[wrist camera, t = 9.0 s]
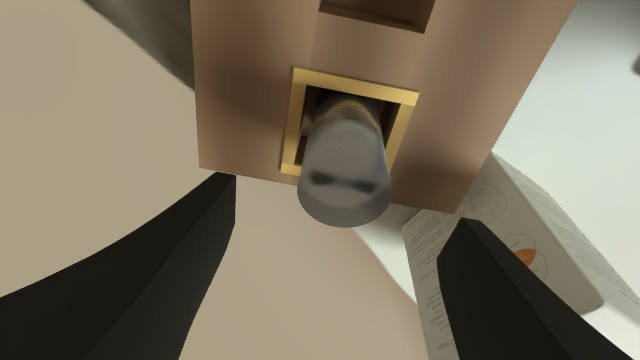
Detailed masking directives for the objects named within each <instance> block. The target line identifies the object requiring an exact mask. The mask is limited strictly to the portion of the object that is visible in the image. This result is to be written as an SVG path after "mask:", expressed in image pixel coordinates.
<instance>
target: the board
mask: <svg viewBox="0 0 640 360" xmlns="http://www.w3.org/2000/svg"><path fill="white" fill-rule="evenodd" d="M577 1H578V0H190V9H191V27H192V45H193V63H194V81H195V99H196V117H197V135H198V153H199V168H203V169H209V170H214V171H220V172H225V173H231V174H236V175H242V176H247V177H253V178H258V179H264V180H269V181H274V182H280V183H285V184H291V185H297V186H298V181H299V177H300V172H301V167H302V163H303V158H304V153H305V149H306V144H307V139H308V135H309V130H310V125H311V121H312V116H313V111H314V107H315V102H316V97H317V94H318V91H319V89H320V87H321V88H326V89H331V90H336V91H341V92H346V93H351V94H356V95H361V96H366V97H371V98H375V100H376V105H377V111H378V116H379V121H380V127H381V132H382V137H383V142H384V148H385V153H386V158H387V164H388V169H389V174H390V179H391V185H392V196H391V200H390V202H389V203H394V204H400V205H405V206H411V207H416V208H422V209H427V210H433V211H438V212H443V213H449V214H455V212H456V210H457V208H458V207H459V205H460V203H461V201H462V200H463V198H464V196H465V195H466V193H467V191H468V189H469V188H470V186H471V184H472V182H473V181H474V179H475V177H476V176H477V174H478V172H479V170H480V169H481V167H482V165H483V163H484V162H485V160H486V158H487V157H488V155H489V153H490V151H491V150H492V148H493V146H494V144H495V143H496V141H497V139H498V137H499V136H500V134H501V132H502V131H503V129H504V127H505V125H506V124H507V122H508V120H509V118H510V117H511V115H512V113H513V112H514V110H515V108H516V106H517V105H518V103H519V101H520V99H521V98H522V96H523V94H524V92H525V91H526V89H527V87H528V86H529V84H530V82H531V80H532V79H533V77H534V75H535V73H536V72H537V70H538V68H539V67H540V65H541V63H542V61H543V60H544V58H545V56H546V54H547V53H548V51H549V49H550V48H551V46H552V44H553V42H554V41H555V39H556V37H557V35H558V34H559V32H560V30H561V28H562V27H563V25H564V23H565V22H566V20H567V18H568V16H569V15H570V13H571V11H572V9H573V8H574V6H575V4H576V3H577Z"/></svg>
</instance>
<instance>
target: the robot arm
mask: <svg viewBox="0 0 640 360" xmlns="http://www.w3.org/2000/svg"><path fill="white" fill-rule="evenodd" d="M235 202H236V175H232V174H227V173H221V172H215V173H214V174H212V175H211V176H210V177H208V178H207V179H206V180H205V181H203V182H202V183H201V184H200V185H198V186H197V187H196V188H194V189H193V190H192V191H190V192H189V193H188V194H187V195H185V196H184V197H183V198H181V199H180V200H178V201H177V202H176V203H174V204H173V205H172V206H170V207H169V208H167V209H166V210H165V211H163V212H162V213H161V214H159V215H157V216H156V217H154V218H153V219H151V220H150V221H148V222H147V223H145V224H144V225H142V226H141V227H139V228H138V229H136V230H135V231H133V232H131V233H130V234H128V235H126V236H125V237H123V238H121V239H120V240H118V241H116V242H115V243H113V244H111V245H109V246H107V247H106V248H104V249H102V250H100V251H98V252H97V253H95V254H93V255H91V256H89V257H88V258H85V259H83V260H81V261H79V262H77V263H75V264H73V265H71V266H69V267H67V268H65V269H63V270H61V271H59V272H56V273H54V274H52V275H50V276H48V277H46V278H44V279H42V280H40V281H37V282H36V283H33V284H31V285H28V286H26V287H24V288H21V289H19V290H17V291H15V292H12V293H10V294H8V295H5V296H3V297H0V360H178V359H179V356H180V354H181V351H182V348H183V346H184V343H185V340H186V337H187V335H188V332H189V329H190V327H191V325H192V322H193V320H194V318H195V315H196V313H197V311H198V309H199V307H200V305H201V303H202V301H203V298H204V296H205V294H206V292H207V290H208V288H209V286H210V284H211V282H212V279H213V277H214V275H215V273H216V271H217V269H218V266H219V264H220V262H221V260H222V258H223V256H224V254H225V251H226V249H227V246H228V243H229V240H230V237H231V234H232V231H233V228H234V224H235ZM436 261H437V270H438V278H439V285H440V290H441V294H442V298H443V302H444V306H445V309H446V313H447V317H448V320H449V324H450V328H451V331H452V335H453V338H454V342H455V346H456V349H457V353H458V356H459V360H634V359H633V358H631V357H630V356H629V355H627V354H626V353H625V352H623V351H622V350H621V349H620V348H618V347H617V346H616V345H615V344H613V343H612V342H611V341H610V340H608V339H607V338H606V337H605V336H604V335H602V334H601V333H600V332H599V331H598V330H596V329H595V328H594V327H593V326H591V325H590V324H589V323H588V322H587V321H585V320H584V319H583V318H582V317H581V316H580V315H579V314H577V313H576V312H575V311H574V310H573V309H572V308H571V307H570V306H568V305H567V304H566V303H565V302H564V301H563V300H562V299H561V298H560V297H559V296H558V295H556V294H555V293H554V292H553V291H552V290H551V289H550V288H549V287H548V286H547V285H546V284H545V283H544V282H543V281H542V280H541V279H539V278H538V277H537V276H536V275H535V274H534V273H533V272H532V271H531V270H530V269H529V268H528V267H527V266H526V265H525V264H524V263H523V262H522V261H521V260H520V259H519V258H518V257H517V256H516V255H515V254H514V253H513V252H512V251H511V250H510V249H509V248H508V247H507V246H506V245H505V244H504V243H503V242H502V241H501V240H500V239H499V238H498V237H497V236H496V235H495V234H494V233H493V232H492V231H491V230H490V229H489V228H488V227H487V226H486V225H485V224H484V223H482V222H481V221H480V220H475V219H470V218H465V217H461V218H460V220H459V222H458V223H457V225H456V227H455V228H454V230H453V232H452V233H451V235H450V237H449V238H448V240H447V242H446V243H445V245H444V247H443V248H442V250H441V252H440V253H439V255H438V257H437V258H436Z"/></svg>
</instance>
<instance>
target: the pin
mask: <svg viewBox="0 0 640 360" xmlns="http://www.w3.org/2000/svg"><path fill="white" fill-rule="evenodd" d="M297 192H298V198H299V201H300V203H301V205H302V207H303V208H304V209H305V211H306V212H307V213H308V214H309V215H310V216H312V217H313V218H314V219H316V220H318V221H319V222H322V223H324V224H327V225H330V226H335V227H343V228H344V227H356V226H361V225H364V224H366V223H369V222H371V221H373V220H374V219H376V218H377V217H379V216H380V215H381V214H382V213H383V212H384V211H385V209H386V208H387V206H388V205H389V202H390V200H391V196H392V185H391V179H390V174H389V169H388V164H387V158H386V153H385V148H384V142H383V137H382V132H381V127H380V121H379V116H378V111H377V105H376V100H375V98H371V97H366V96H361V95H356V94H351V93H346V92H341V91H336V90H331V89H326V88H321V87H320V89H319V91H318V94H317V97H316V102H315V107H314V111H313V116H312V121H311V125H310V130H309V135H308V139H307V144H306V149H305V153H304V158H303V163H302V167H301V172H300V177H299V181H298V187H297Z"/></svg>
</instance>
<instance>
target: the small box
mask: <svg viewBox="0 0 640 360" xmlns="http://www.w3.org/2000/svg"><path fill="white" fill-rule="evenodd" d="M461 217H465V218H470V219H475V220H480V221H481V222H482V223H484V224H485V225H486V226H487V227H488V228H489V229H490V230H491V231H492V232H493V233H494V234H495V235H496V236H497V237H498V238H499V239H500V240H501V241H502V242H503V243H504V244H505V245H506V246H507V247H508V248H509V249H510V250H511V251H512V252H513V253H514V254H515V255H516V256H517V257H518V258H519V259H520V260H521V261H522V262H523V263H524V264H525V265H526V266H527V267H528V268H529V269H530V270H531V271H532V272H533V273H534V274H535V275H536V276H537V277H538V278H539V279H541V280H542V281H543V282H544V283H545V284H546V285H547V286H548V287H549V288H550V289H551V290H552V291H553V292H554V293H555V294H556V295H558V296H559V297H560V298H561V299H562V300H563V301H564V302H565V303H566V304H567V305H568V306H570V307H571V308H572V309H573V310H574V311H575V312H576V313H577V314H579V315H580V316H581V317H582V318H583V319H584V320H585V321H587V322H588V323H589V324H590V325H591V326H593V327H594V328H595V329H596V330H598V331H599V332H600V333H601V334H602V335H604V336H605V337H606V338H607V339H608V340H610V341H611V342H612V343H613V344H615V345H616V346H617V347H618V348H620V349H621V350H622V351H623V352H625V353H626V354H627V355H629V356H630V357H631V358H633V359H634V360H640V298H639V297H638V296H637V295H636V294H635V293H634V292H633V290H632V289H631V288H630V287H629V286H628V285H627V283H626V282H625V281H624V280H623V279H622V278H621V276H620V275H619V274H618V273H617V272H616V271H615V269H614V268H613V267H612V266H611V265H610V263H609V262H608V261H607V260H606V259H605V257H604V256H603V255H602V254H601V253H600V252H599V251H598V250H597V248H596V247H595V246H594V245H593V244H592V243H591V242H590V241H589V239H588V238H587V237H586V236H585V235H584V234H583V233H582V231H581V230H580V229H579V228H578V227H577V226H576V224H575V223H574V222H573V221H572V220H571V218H570V217H569V216H568V215H567V214H566V213H565V212H564V211H563V209H562V208H561V207H560V206H559V205H558V204H557V203H556V201H555V200H554V199H553V198H552V197H551V196H550V195H549V193H547V192H546V191H545V190H544V189H542V188H541V187H540V186H538V185H537V184H536V183H534V182H533V181H532V180H530V179H529V178H528V177H526V176H525V175H523V174H522V173H521V172H519V171H518V170H517V169H515V168H514V167H512V166H511V165H510V164H508V163H507V162H506V161H504V160H503V159H501V158H500V157H498V156H497V155H496V154H494V153H493V152H491V151H490V153H489V155H488V157H487V158H486V160H485V162H484V163H483V165H482V167H481V169H480V170H479V172H478V174H477V176H476V177H475V179H474V181H473V182H472V184H471V186H470V188H469V189H468V191H467V193H466V195H465V196H464V198H463V200H462V201H461V203H460V205H459V207H458V208H457V210H456V212H455V214H449V213H443V212H438V211H433V210H427V209H421V210H420V211H419V212H418V213H417V214H416V215H415V216H413V217H412V218H411V219H410V220H409V221H408V222H407V223H405V224H404V225H403V226H402V234H403V238H404V243H405V248H406V252H407V257H408V262H409V267H410V271H411V276H412V280H413V286H414V290H415V295H416V300H417V304H418V309H419V314H420V319H421V324H422V328H423V333H424V338H425V343H426V347H427V352H428V357H429V360H459V356H458V353H457V349H456V346H455V342H454V338H453V335H452V331H451V328H450V324H449V320H448V317H447V313H446V309H445V306H444V302H443V298H442V294H441V290H440V285H439V278H438V270H437V261H436V258H437V257H438V255H439V253H440V252H441V250H442V248H443V247H444V245H445V243H446V242H447V240H448V238H449V237H450V235H451V233H452V232H453V230H454V228H455V227H456V225H457V223H458V222H459V220H460V218H461Z"/></svg>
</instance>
